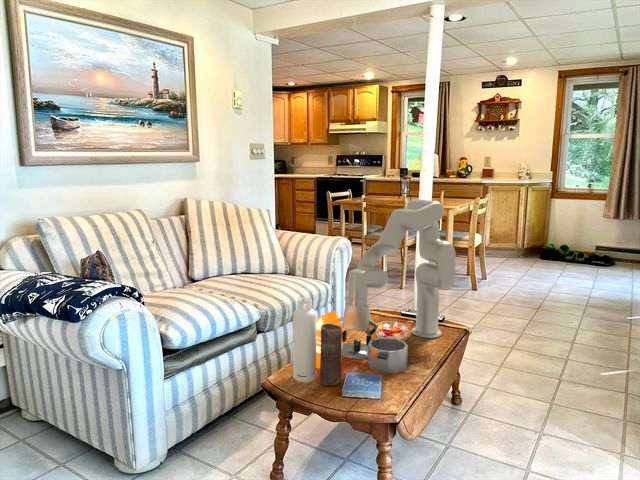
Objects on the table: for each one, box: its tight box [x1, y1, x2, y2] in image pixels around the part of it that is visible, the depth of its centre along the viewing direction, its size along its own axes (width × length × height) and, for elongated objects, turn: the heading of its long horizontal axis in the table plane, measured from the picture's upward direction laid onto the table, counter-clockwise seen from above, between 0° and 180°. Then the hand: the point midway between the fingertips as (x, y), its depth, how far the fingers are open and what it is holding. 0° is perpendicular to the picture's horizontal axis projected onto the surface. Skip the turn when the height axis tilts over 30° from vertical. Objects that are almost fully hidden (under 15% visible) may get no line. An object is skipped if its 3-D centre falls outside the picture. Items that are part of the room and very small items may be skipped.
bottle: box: [292, 297, 318, 383], centre depth 164 cm, size 8×8×28 cm
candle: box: [319, 324, 343, 386], centre depth 161 cm, size 8×7×20 cm
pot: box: [367, 336, 409, 374], centre depth 176 cm, size 19×14×8 cm
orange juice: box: [316, 310, 343, 370], centre depth 175 cm, size 8×9×20 cm
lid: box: [342, 338, 368, 361], centre depth 188 cm, size 15×15×5 cm
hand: (356, 342), depth 188 cm, fingers open, 9 cm apart
